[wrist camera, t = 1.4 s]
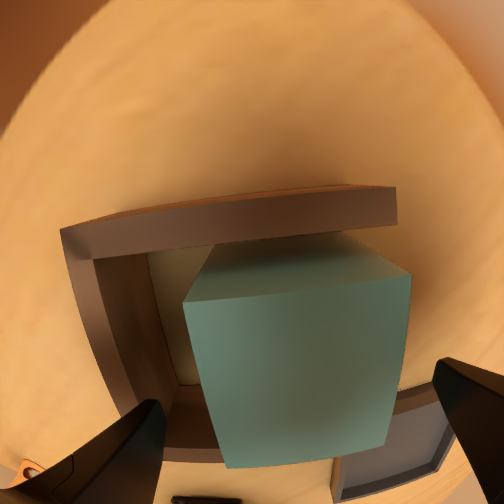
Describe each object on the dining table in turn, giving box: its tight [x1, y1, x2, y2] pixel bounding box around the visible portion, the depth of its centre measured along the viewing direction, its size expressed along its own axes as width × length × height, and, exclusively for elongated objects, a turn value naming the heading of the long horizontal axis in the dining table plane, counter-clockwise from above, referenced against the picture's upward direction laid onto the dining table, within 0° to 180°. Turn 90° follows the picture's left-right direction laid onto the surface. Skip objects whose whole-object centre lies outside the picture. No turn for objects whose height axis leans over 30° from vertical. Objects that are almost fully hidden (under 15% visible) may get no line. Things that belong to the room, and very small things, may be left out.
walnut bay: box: [60, 185, 397, 463], centre depth 12 cm, size 11×11×5 cm
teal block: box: [182, 231, 412, 468], centre depth 11 cm, size 7×6×7 cm
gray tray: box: [330, 382, 456, 504], centre depth 16 cm, size 11×10×2 cm
